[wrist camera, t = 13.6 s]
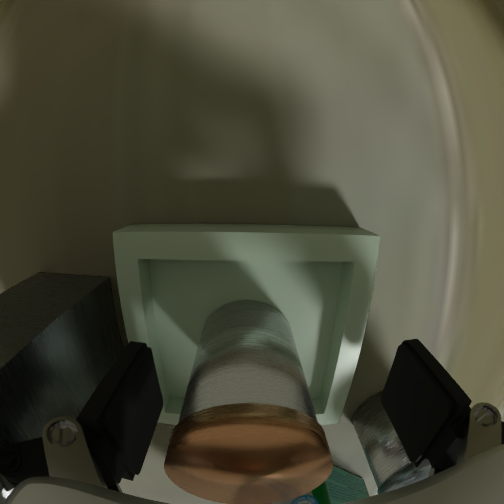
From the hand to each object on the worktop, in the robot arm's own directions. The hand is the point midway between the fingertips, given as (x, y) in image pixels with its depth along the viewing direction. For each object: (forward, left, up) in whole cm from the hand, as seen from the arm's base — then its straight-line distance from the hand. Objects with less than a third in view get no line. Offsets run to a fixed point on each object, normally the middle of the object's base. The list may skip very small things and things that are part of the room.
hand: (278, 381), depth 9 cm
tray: (+1, 0, -4) cm, 4 cm away
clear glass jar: (-8, +7, -4) cm, 11 cm away
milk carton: (-4, +18, -4) cm, 19 cm away
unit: (+10, +1, -4) cm, 11 cm away
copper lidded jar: (+1, 0, -3) cm, 3 cm away
